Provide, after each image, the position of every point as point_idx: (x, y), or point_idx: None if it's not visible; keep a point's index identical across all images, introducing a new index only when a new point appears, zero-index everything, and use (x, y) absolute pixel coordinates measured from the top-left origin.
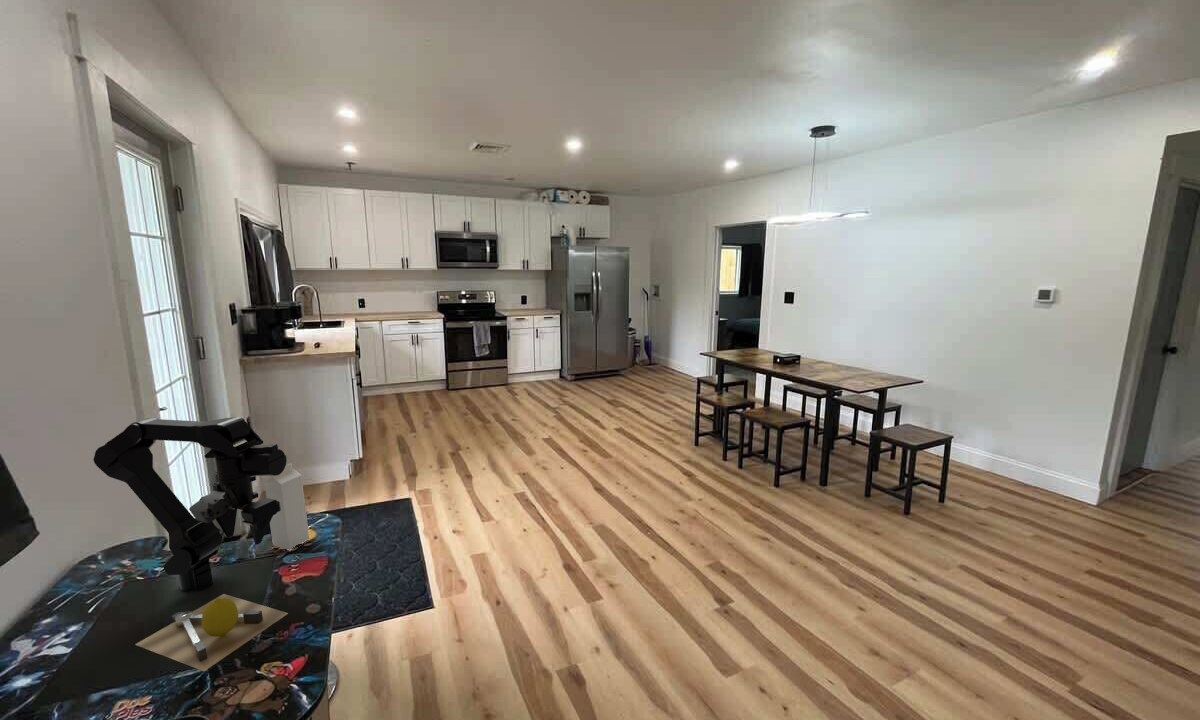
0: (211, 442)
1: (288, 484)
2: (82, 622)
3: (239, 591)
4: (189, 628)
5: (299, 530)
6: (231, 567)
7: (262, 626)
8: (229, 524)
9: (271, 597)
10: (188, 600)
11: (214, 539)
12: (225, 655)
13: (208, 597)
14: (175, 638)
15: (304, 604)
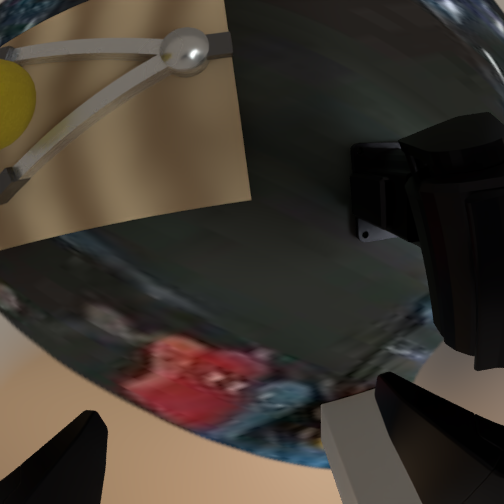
0: None
1: None
2: (458, 21)
3: (247, 244)
4: (96, 44)
5: (331, 457)
6: (405, 294)
7: None
8: (420, 454)
9: (116, 276)
10: (354, 140)
11: (459, 315)
12: None
13: (311, 176)
14: (132, 24)
15: (25, 296)
